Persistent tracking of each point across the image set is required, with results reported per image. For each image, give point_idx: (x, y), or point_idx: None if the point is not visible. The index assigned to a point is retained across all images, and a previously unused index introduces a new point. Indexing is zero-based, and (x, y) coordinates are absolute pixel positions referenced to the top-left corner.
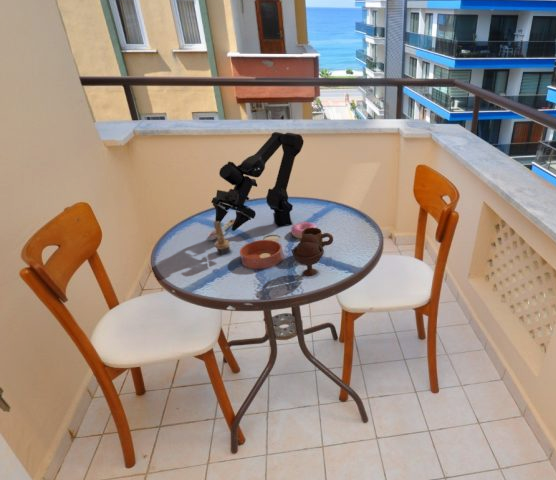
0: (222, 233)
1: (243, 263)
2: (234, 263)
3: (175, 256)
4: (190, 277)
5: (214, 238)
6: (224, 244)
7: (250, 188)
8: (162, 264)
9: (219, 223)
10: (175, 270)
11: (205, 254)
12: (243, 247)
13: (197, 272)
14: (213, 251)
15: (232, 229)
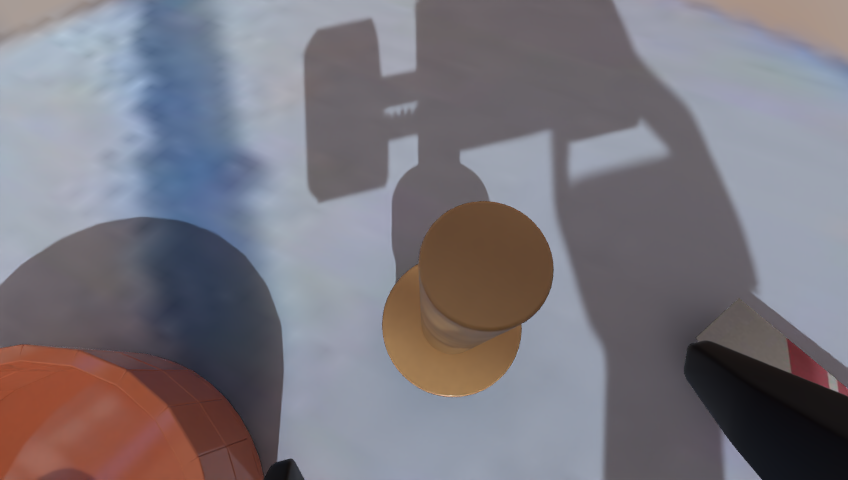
0: (433, 336)
1: (111, 350)
2: (228, 314)
3: (619, 66)
4: (290, 39)
5: None
6: (393, 324)
7: None
8: None
9: (427, 297)
10: (434, 12)
11: None
12: (176, 454)
13: (314, 85)
14: None
15: (267, 474)
